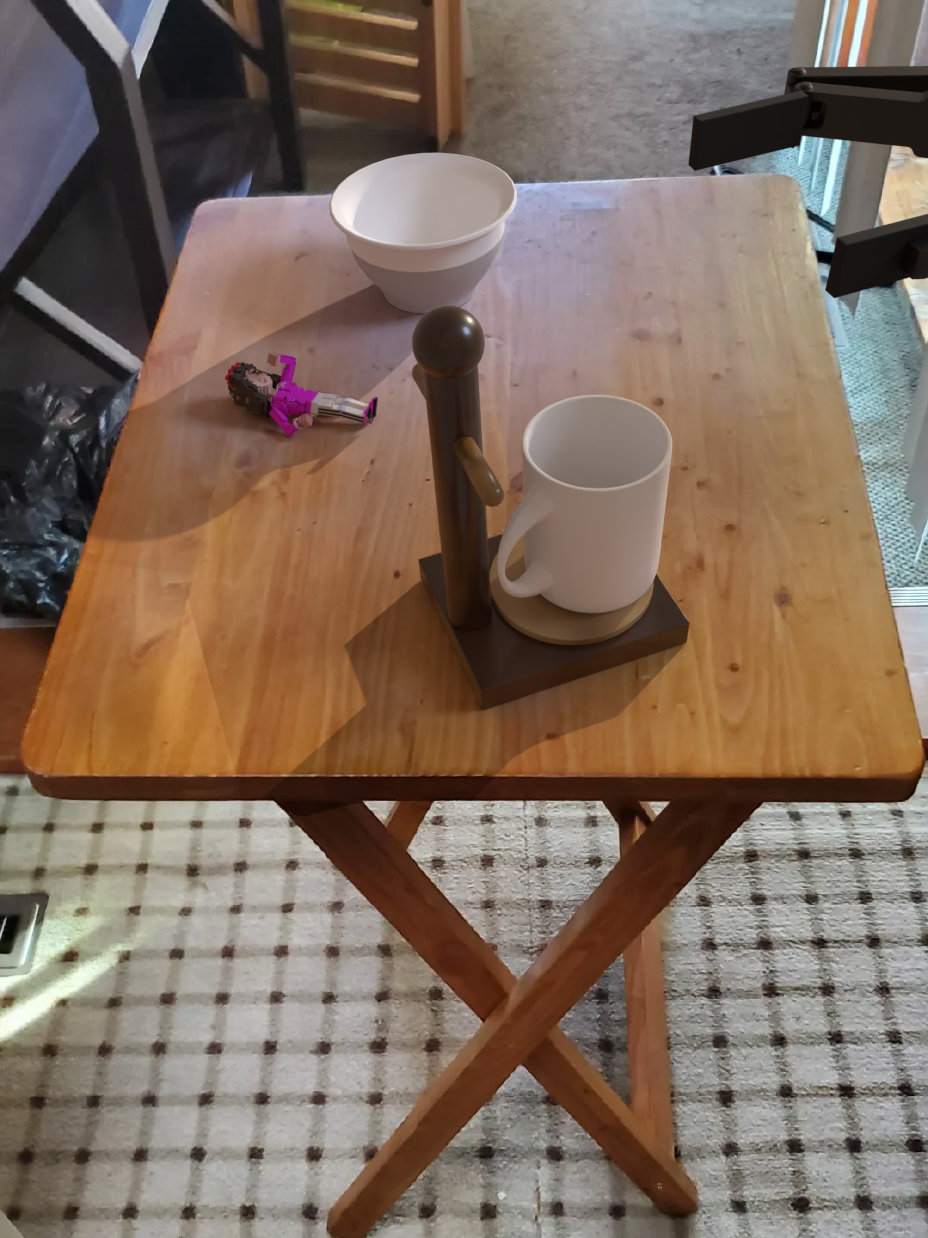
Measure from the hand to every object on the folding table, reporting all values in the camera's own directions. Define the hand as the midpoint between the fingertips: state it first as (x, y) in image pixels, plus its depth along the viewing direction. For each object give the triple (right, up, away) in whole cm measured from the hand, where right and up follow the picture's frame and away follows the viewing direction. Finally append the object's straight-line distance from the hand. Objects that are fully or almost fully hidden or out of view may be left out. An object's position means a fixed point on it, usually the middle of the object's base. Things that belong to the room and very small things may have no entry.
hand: (758, 201), depth 54 cm
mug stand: (-9, -20, +18) cm, 28 cm away
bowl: (-18, +9, +44) cm, 48 cm away
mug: (-8, -19, +16) cm, 26 cm away
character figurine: (-28, -5, +33) cm, 43 cm away
